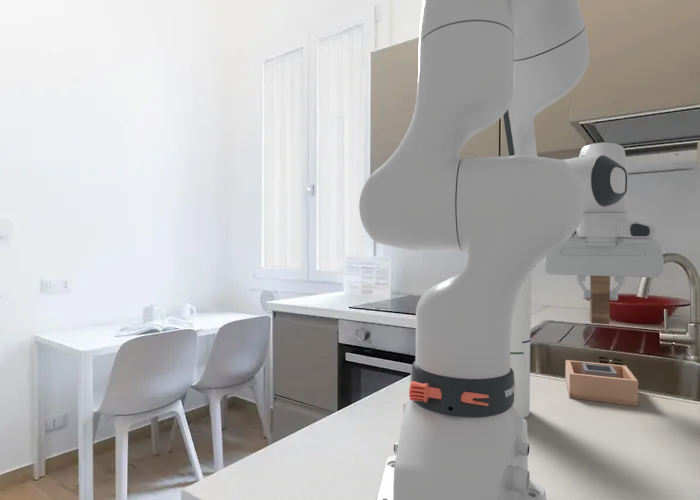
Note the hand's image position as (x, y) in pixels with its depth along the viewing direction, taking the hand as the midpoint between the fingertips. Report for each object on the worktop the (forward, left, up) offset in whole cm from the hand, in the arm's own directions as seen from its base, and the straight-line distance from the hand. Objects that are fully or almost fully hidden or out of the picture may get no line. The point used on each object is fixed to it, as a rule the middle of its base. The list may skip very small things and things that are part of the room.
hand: (599, 299), depth 86 cm
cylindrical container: (-17, +16, -19) cm, 30 cm away
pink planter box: (0, 0, -18) cm, 18 cm away
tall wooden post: (0, 0, -5) cm, 5 cm away
